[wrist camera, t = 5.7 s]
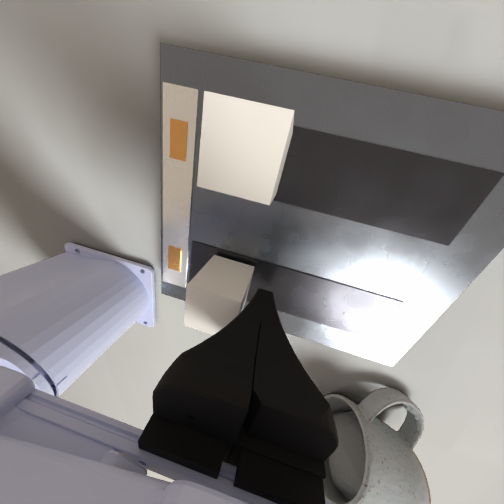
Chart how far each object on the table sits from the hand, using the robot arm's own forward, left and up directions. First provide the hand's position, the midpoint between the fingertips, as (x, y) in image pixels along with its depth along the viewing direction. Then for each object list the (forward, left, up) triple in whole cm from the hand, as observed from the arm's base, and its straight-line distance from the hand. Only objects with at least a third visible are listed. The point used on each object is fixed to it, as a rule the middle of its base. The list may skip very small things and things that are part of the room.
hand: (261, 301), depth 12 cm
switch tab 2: (-3, 0, -2) cm, 3 cm away
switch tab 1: (-3, +8, -2) cm, 9 cm away
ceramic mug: (+14, -14, -4) cm, 20 cm away
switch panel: (+1, +4, -4) cm, 6 cm away
